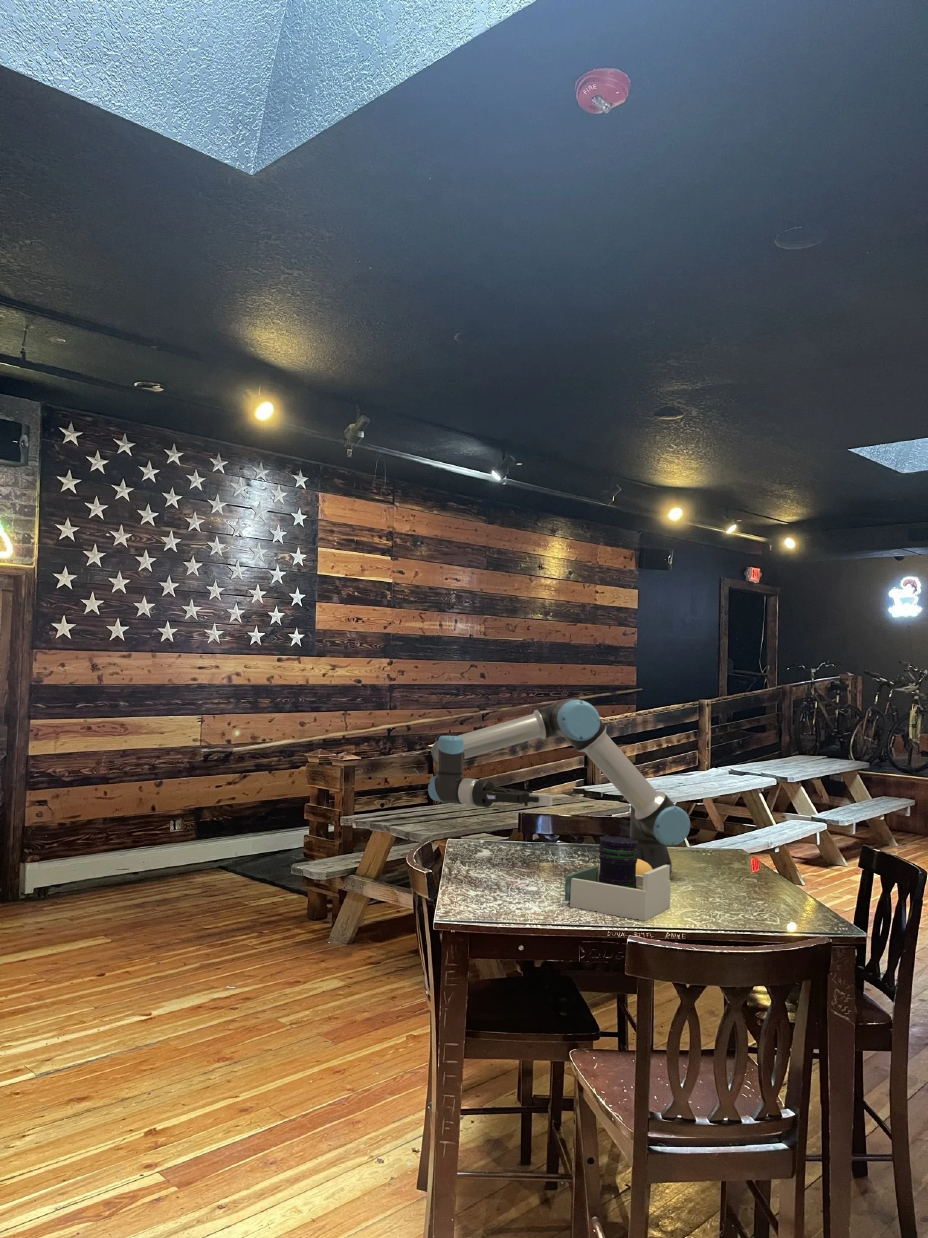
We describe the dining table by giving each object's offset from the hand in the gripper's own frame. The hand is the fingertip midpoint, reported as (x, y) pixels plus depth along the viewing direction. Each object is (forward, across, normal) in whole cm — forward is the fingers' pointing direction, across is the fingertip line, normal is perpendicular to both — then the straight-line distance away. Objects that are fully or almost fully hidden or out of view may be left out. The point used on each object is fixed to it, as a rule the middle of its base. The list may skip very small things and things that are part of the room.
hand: (551, 800), depth 237 cm
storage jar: (+20, 0, -23) cm, 30 cm away
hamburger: (+16, -22, -26) cm, 37 cm away
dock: (+21, 0, -25) cm, 33 cm away
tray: (+19, 0, -24) cm, 30 cm away
